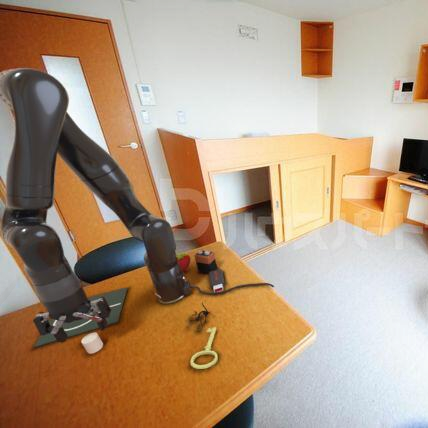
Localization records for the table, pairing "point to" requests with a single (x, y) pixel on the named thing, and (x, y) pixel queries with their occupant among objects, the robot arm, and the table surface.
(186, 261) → the strawberry
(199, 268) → the battery
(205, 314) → the creature
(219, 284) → the usb drive
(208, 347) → the key
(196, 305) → the table surface
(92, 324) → the chalkboard
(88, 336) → the eye puck
